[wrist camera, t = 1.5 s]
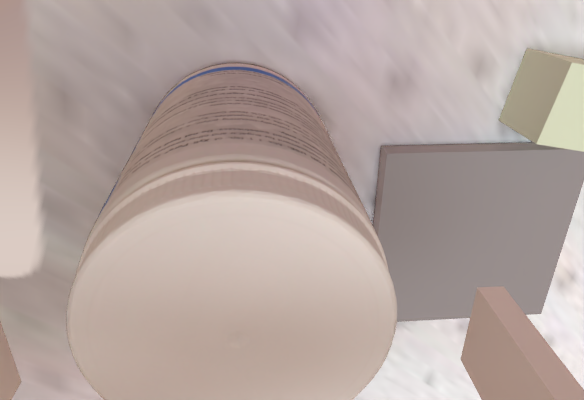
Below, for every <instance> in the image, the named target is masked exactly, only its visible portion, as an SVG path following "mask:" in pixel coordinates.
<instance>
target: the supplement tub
mask: <svg viewBox="0 0 584 400" xmlns="http://www.w3.org/2000/svg"><path fill="white" fill-rule="evenodd" d="M396 323H397V300H396V295H395V290H394V285H393V282H392V279H391V276H390V274H389V271H388V265H387V261H386V257H385V254H384V251H383V248H382V245H381V243H380V241H379V239H378V236H377V234H376V232H375V230H374V227H373V225H372V223H371V221H370V219H369V217H368V215H367V213H366V210H365V208H364V206H363V204H362V202H361V200H360V198H359V196H358V194H357V192H356V190H355V188H354V186H353V184H352V182H351V180H350V178H349V176H348V174H347V172H346V170H345V168H344V166H343V164H342V162H341V160H340V158H339V156H338V154H337V152H336V149H335V147H334V145H333V143H332V141H331V139H330V137H329V135H328V133H327V131H326V129H325V127H324V125H323V123H322V121H321V119H320V117H319V115H318V113H317V111H316V110H315V108H314V106H313V105H312V103H311V102H310V101H309V99H308V98H307V97H306V96H305V95H304V93H303V92H302V91H301V90H300V89H299V88H297V87H296V86H295V85H294V84H293V83H292V82H290V81H289V80H288V79H286V78H285V77H283V76H281V75H279V74H277V73H275V72H273V71H271V70H268V69H265V68H262V67H259V66H255V65H249V64H239V63H228V64H220V65H215V66H211V67H207V68H205V69H202V70H199V71H197V72H195V73H193V74H191V75H189V76H187V77H186V78H184V79H183V80H181V81H180V82H179V83H178V84H176V85H175V86H174V87H173V88H172V89H171V90H170V91H169V92H168V93H167V94H166V95H165V97H164V98H163V99H162V101H161V102H160V104H159V105H158V107H157V109H156V111H155V112H154V114H153V116H152V117H151V119H150V121H149V123H148V125H147V127H146V129H145V130H144V132H143V134H142V136H141V138H140V140H139V141H138V143H137V145H136V147H135V149H134V151H133V153H132V154H131V156H130V158H129V160H128V162H127V164H126V166H125V167H124V169H123V171H122V173H121V175H120V177H119V178H118V180H117V182H116V184H115V186H114V188H113V190H112V192H111V193H110V195H109V197H108V199H107V201H106V203H105V204H104V206H103V208H102V210H101V212H100V214H99V216H98V218H97V220H96V223H95V225H94V227H93V229H92V230H91V232H90V234H89V237H88V239H87V242H86V244H85V247H84V250H83V253H82V256H81V258H80V261H79V264H78V268H77V272H76V277H75V280H74V282H73V285H72V288H71V291H70V294H69V299H68V303H67V311H66V326H67V335H68V341H69V345H70V348H71V351H72V354H73V357H74V359H75V361H76V363H77V366H78V367H79V369H80V371H81V372H82V374H83V376H84V377H85V378H86V380H87V381H88V382H89V384H90V385H91V386H92V388H93V389H94V390H95V391H96V392H97V393H98V394H99V395H100V396H101V397H102V398H103V399H104V400H352V399H353V398H355V397H356V396H357V395H358V394H359V393H360V392H361V391H362V390H363V389H364V388H365V387H366V386H367V384H368V383H369V382H370V381H371V380H372V379H373V378H374V376H375V375H376V373H377V372H378V370H379V369H380V368H381V366H382V364H383V362H384V361H385V359H386V357H387V355H388V352H389V350H390V347H391V344H392V341H393V337H394V334H395V330H396Z"/></svg>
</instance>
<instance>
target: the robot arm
mask: <svg viewBox="0 0 584 400" xmlns="http://www.w3.org/2000/svg"><path fill="white" fill-rule="evenodd" d="M461 361H462V363H463V365H464V367H465V369H466V370H467V372H468V374H469V376H470V378H471V380H472V382H473V384H474V386H475V388H476V389H477V391H478V393H479V395H480V397H481V399H482V400H584V390H583V388H582V387H581V386H580V384H579V383H578V382H577V381H576V379H575V378H574V377H573V375H572V374H571V373H570V372H569V370H568V369H567V368H566V366H565V365H564V364H563V363H562V361H561V360H560V359H559V357H558V356H557V355H556V354H555V352H554V351H553V350H552V348H551V347H550V346H549V345H548V343H547V342H546V341H545V339H544V338H543V337H542V335H541V334H540V333H539V332H538V330H537V329H536V328H535V326H534V325H533V324H532V323H531V321H530V320H529V319H528V317H527V316H526V315H525V314H524V312H523V311H522V310H521V308H520V307H519V306H518V305H517V303H516V302H515V301H514V299H513V298H512V297H511V296H510V294H509V293H508V292H507V290H506V289H505V288H504V286H501V287H477V291H476V295H475V300H474V304H473V308H472V313H471V317H470V321H469V326H468V330H467V334H466V338H465V343H464V347H463V351H462V356H461ZM20 383H21V379H20V376H19V374H18V371H17V368H16V365H15V362H14V359H13V356H12V354H11V351H10V348H9V345H8V342H7V339H6V336H5V333H4V331H3V328H2V325H1V322H0V400H11V399H12V397H13V396H14V394H15V392H16V390H17V388H18V387H19V385H20Z"/></svg>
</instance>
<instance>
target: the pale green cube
mask: <svg viewBox="0 0 584 400" xmlns="http://www.w3.org/2000/svg"><path fill="white" fill-rule="evenodd" d="M499 121H501V122H502V123H504V124H505V125H507V126H509V127H510V128H512V129H513V130H515V131H516V132H518V133H520V134H521V135H523V136H524V137H526V138H527V139H529V140H531V141H532V142H534V143H535V144H539V145H545V146H551V147H557V148H564V149H570V150H576V151H582V152H584V59H579V58H574V57H569V56H564V55H559V54H554V53H548V52H543V51H538V50H533V49H528V48H527V49H526V51H525V54H524V56H523V59H522V62H521V64H520V67H519V69H518V72H517V74H516V77H515V79H514V82H513V85H512V87H511V90H510V92H509V95H508V97H507V100H506V103H505V105H504V108H503V110H502V113H501V115H500V118H499Z"/></svg>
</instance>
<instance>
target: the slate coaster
mask: <svg viewBox="0 0 584 400" xmlns="http://www.w3.org/2000/svg"><path fill="white" fill-rule="evenodd" d="M583 181H584V152H582V151H576V150H570V149H564V148H557V147H551V146H545V145H539V144H535V143H492V144H447V145H401V146H381V154H380V164H379V173H378V183H377V193H376V203H375V213H374V222H373V227H374V230H375V232H376V234H377V236H378V239H379V241H380V243H381V245H382V248H383V251H384V254H385V257H386V261H387V265H388V271H389V274H390V276H391V279H392V282H393V285H394V290H395V295H396V300H397V322H400V321H418V320H437V319H455V318H470V317H471V313H472V308H473V304H474V300H475V295H476V291H477V287H501V286H504V288H505V289H506V290H507V292H508V293H509V294H510V296H511V297H512V298H513V299H514V301H515V302H516V303H517V305H518V306H519V307H520V308H521V310H522V311H523V312H524V314H525V315H529V314H541V312H542V309H543V306H544V303H545V299H546V296H547V293H548V290H549V287H550V284H551V281H552V278H553V275H554V271H555V268H556V265H557V262H558V259H559V256H560V253H561V250H562V247H563V243H564V240H565V237H566V234H567V231H568V228H569V225H570V222H571V219H572V215H573V212H574V209H575V206H576V203H577V200H578V197H579V194H580V190H581V187H582V184H583Z"/></svg>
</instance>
